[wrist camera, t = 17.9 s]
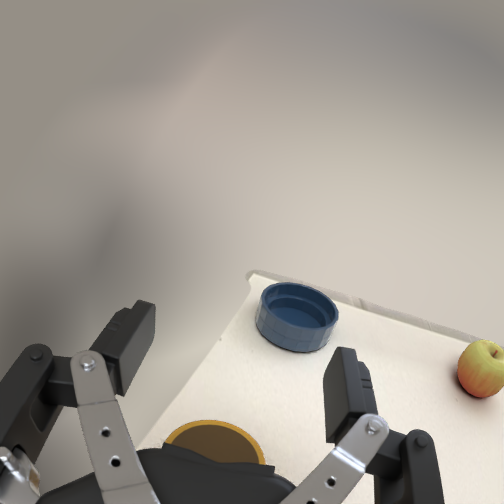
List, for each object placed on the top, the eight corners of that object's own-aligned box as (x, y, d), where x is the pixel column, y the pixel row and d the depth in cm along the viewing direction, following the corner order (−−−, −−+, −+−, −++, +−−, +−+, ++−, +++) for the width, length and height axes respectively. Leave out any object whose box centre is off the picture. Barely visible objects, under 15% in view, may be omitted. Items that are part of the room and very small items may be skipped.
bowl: (257, 351, 41) (265, 326, 39) (252, 301, 51) (258, 278, 49) (336, 356, 42) (348, 332, 40) (318, 309, 52) (327, 287, 50)
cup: (162, 533, 17) (155, 499, 12) (167, 475, 22) (166, 413, 17) (237, 539, 17) (270, 507, 13) (234, 482, 23) (262, 423, 18)
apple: (451, 398, 36) (480, 359, 33) (446, 359, 44) (469, 323, 41) (496, 411, 33) (525, 374, 30) (487, 373, 42) (510, 339, 38)
